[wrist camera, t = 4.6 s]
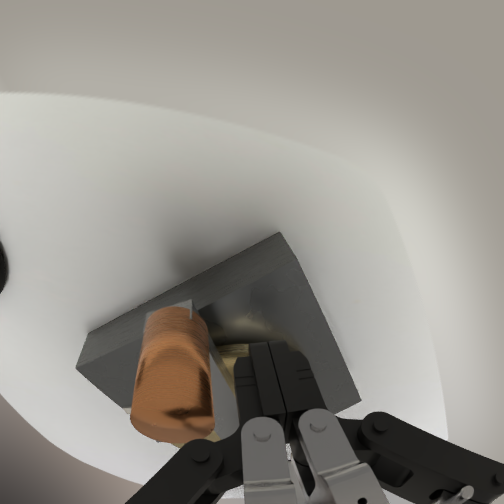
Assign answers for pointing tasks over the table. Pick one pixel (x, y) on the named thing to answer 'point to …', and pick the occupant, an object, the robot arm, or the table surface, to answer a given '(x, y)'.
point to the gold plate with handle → (184, 379)
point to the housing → (231, 323)
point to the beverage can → (2, 272)
